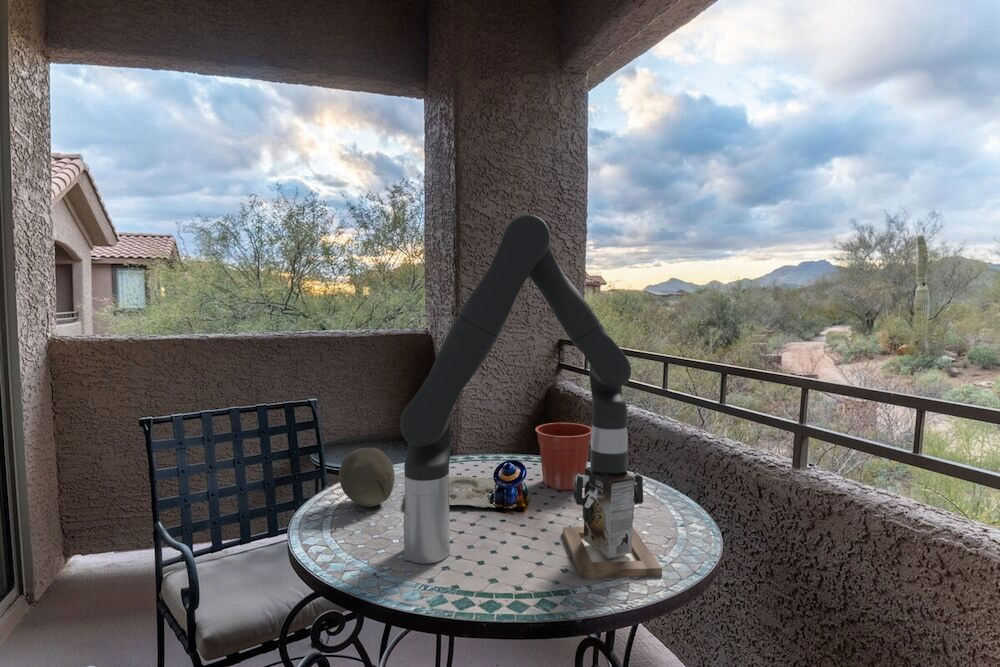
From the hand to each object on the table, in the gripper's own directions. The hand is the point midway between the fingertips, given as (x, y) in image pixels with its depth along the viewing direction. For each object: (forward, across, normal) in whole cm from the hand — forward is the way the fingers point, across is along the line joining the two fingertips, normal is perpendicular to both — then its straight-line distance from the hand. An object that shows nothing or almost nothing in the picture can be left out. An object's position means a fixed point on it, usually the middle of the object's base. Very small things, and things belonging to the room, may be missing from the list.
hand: (607, 522), depth 108 cm
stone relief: (+7, -30, +34) cm, 46 cm away
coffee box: (+5, 0, 0) cm, 5 cm away
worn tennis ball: (+7, -56, +29) cm, 63 cm away
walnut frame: (+6, 0, 0) cm, 6 cm away
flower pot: (+7, -2, +42) cm, 43 cm away
